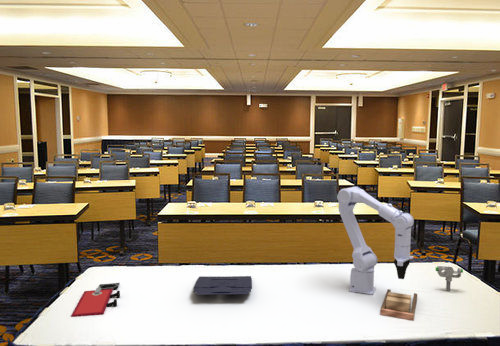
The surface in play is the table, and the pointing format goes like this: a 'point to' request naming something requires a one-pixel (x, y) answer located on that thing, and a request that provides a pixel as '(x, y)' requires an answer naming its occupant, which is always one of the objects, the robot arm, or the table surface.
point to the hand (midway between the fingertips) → (401, 278)
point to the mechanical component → (448, 274)
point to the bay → (398, 313)
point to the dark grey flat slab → (223, 285)
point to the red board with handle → (96, 300)
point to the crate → (398, 302)
